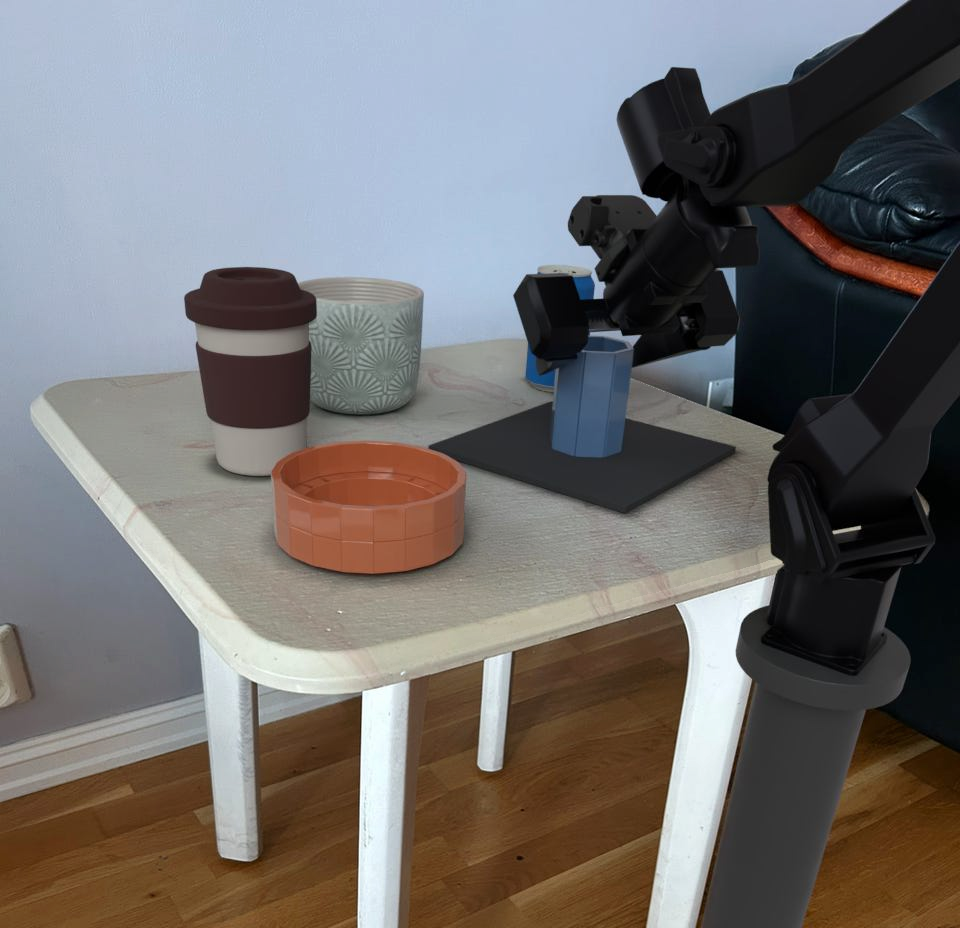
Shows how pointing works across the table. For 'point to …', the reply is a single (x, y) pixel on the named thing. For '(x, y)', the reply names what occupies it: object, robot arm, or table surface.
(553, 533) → the table surface
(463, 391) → the table surface
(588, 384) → the blue cup
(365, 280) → the planter
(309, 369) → the coffee cup
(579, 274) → the beverage can
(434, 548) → the bowl
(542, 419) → the mat
